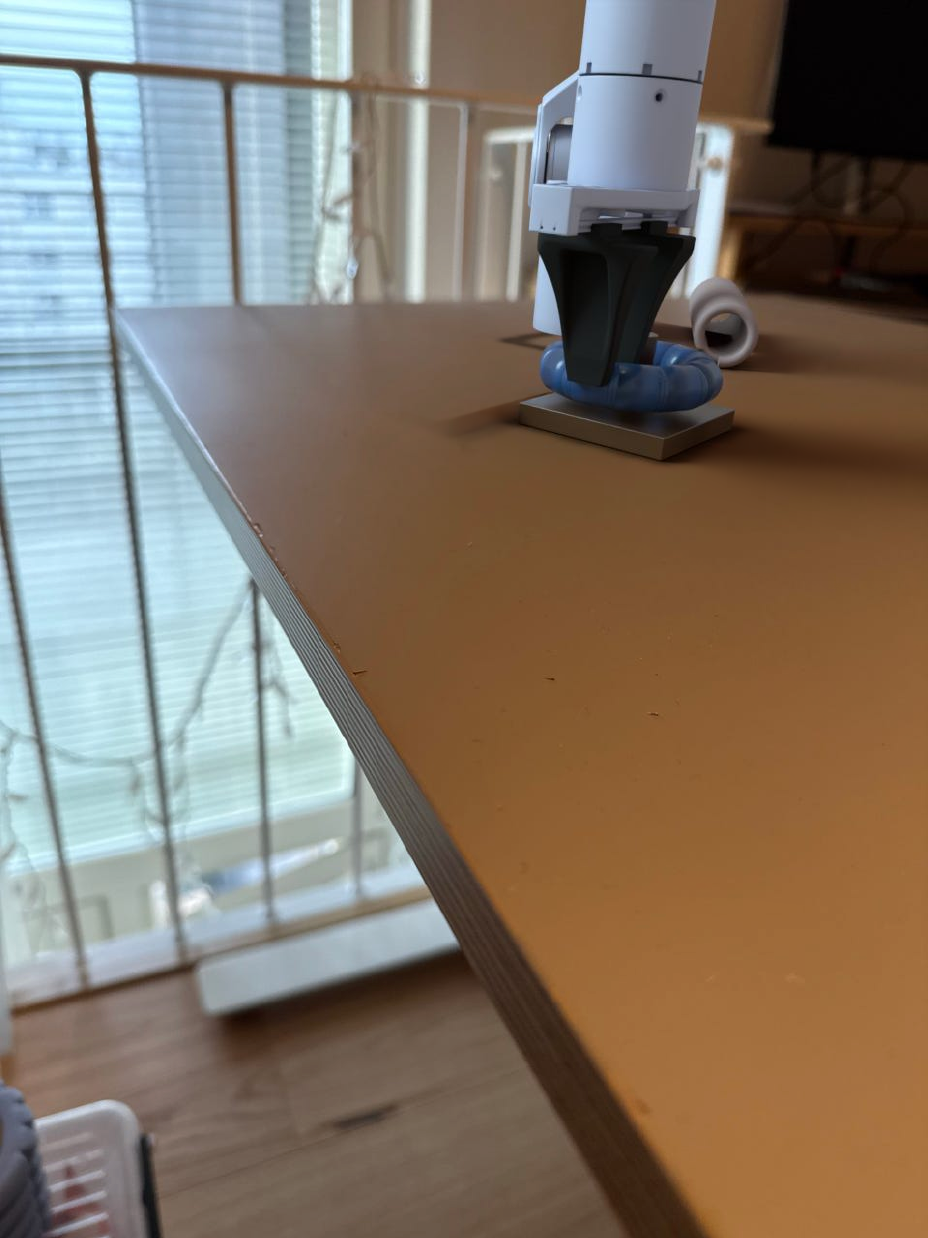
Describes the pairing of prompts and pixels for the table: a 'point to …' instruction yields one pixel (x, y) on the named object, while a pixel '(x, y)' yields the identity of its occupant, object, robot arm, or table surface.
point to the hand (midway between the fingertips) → (600, 378)
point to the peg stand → (628, 421)
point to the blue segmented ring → (641, 381)
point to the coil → (739, 324)
